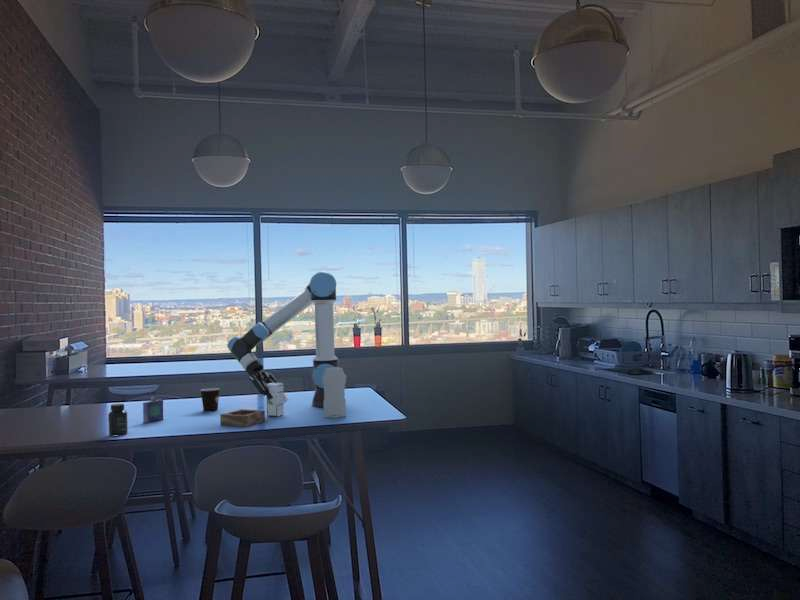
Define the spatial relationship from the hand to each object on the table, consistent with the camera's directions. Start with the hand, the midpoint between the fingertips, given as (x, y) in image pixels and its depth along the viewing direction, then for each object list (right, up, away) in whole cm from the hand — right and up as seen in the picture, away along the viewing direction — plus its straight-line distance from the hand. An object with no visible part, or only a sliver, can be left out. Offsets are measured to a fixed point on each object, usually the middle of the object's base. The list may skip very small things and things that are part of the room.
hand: (281, 402), depth 281 cm
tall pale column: (+24, -6, -4) cm, 25 cm away
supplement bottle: (-59, -8, -31) cm, 67 cm away
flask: (-55, -8, -6) cm, 56 cm away
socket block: (-14, -7, -14) cm, 21 cm away
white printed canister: (-3, -6, +1) cm, 7 cm away
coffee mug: (-36, -7, +19) cm, 42 cm away
